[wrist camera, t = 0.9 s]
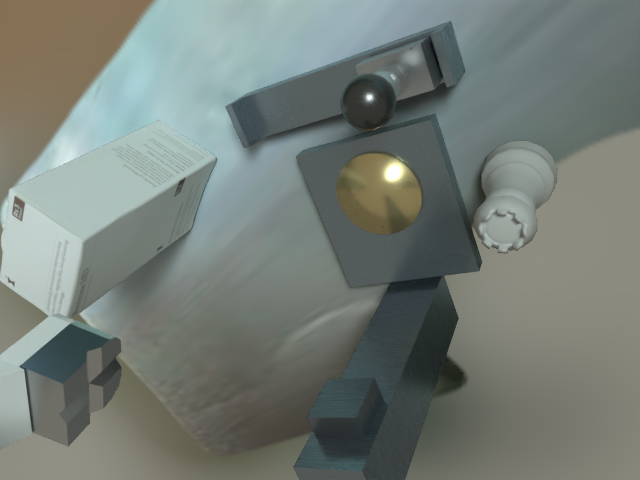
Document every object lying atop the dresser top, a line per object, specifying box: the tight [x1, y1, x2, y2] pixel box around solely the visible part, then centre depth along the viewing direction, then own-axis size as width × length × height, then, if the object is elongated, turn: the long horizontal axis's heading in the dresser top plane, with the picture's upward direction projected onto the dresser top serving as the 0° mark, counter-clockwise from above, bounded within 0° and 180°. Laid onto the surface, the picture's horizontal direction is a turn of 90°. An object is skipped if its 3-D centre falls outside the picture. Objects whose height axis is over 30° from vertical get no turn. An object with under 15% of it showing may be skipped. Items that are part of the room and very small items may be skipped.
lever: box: [340, 37, 442, 130], centre depth 31 cm, size 4×3×8 cm
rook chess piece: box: [474, 141, 557, 253], centre depth 33 cm, size 4×4×8 cm
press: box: [225, 21, 482, 480], centre depth 34 cm, size 15×20×18 cm
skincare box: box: [0, 120, 216, 319], centre depth 42 cm, size 8×6×15 cm
